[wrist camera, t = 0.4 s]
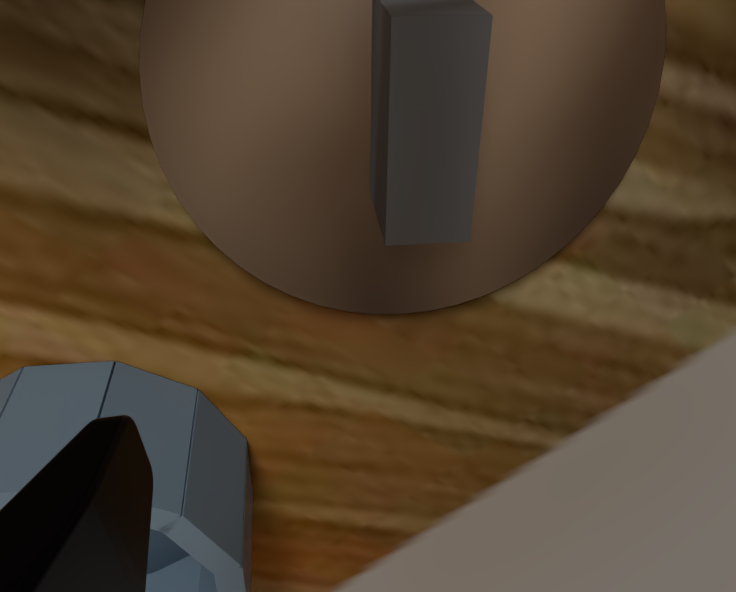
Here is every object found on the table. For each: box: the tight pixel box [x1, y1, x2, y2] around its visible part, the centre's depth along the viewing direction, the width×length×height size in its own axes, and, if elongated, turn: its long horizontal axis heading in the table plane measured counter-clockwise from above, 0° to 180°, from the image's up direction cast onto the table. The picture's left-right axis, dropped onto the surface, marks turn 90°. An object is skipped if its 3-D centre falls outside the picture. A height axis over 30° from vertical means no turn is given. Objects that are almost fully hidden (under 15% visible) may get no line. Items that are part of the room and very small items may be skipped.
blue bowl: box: [0, 361, 253, 592], centre depth 22 cm, size 10×10×5 cm
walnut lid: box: [139, 0, 666, 314], centre depth 17 cm, size 13×13×4 cm
